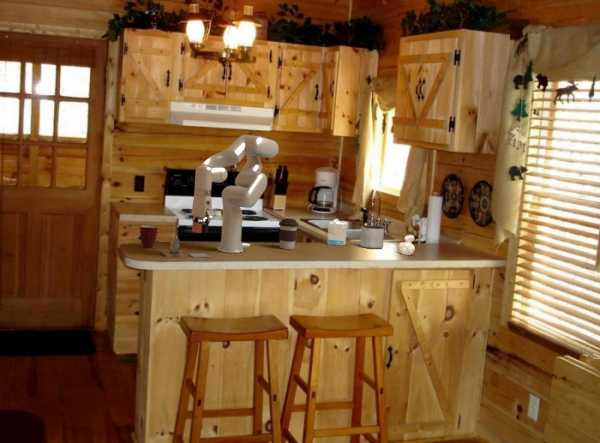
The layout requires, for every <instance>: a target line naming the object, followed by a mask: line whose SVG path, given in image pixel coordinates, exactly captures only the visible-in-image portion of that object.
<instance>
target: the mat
mask: <svg viewBox="0 0 600 443" xmlns="http://www.w3.org/2000/svg"><path fill="white" fill-rule="evenodd" d="M187 254H188V256H190V257H192V259H193V258H198V259H199V258H200V259H201V257H210V258H211V256H210V255H208V254H207V253H187Z"/></svg>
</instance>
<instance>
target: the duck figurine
mask: <svg viewBox="0 0 600 443" xmlns="http://www.w3.org/2000/svg"><path fill="white" fill-rule="evenodd" d="M404 240H405V241H403V242H400V243H399V244H398V246H397V252H398V253H399V254H400V253H401V254H400V255H404V254H406V255H405V256H411V255H413V254H414V251H415V250H416V248H415V245H414V244H412V242H414V241H415V236H414V235H413V234H408V235H405V237H404Z"/></svg>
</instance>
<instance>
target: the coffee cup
mask: <svg viewBox="0 0 600 443" xmlns="http://www.w3.org/2000/svg"><path fill="white" fill-rule="evenodd" d="M278 225H279V248H280V249H283V250H294V249H295V244H296V240H297V233H298V230H297V229H298V227H299V222H297V220H296V219H294V218H282V219H281V220H280V221H279V222H278Z"/></svg>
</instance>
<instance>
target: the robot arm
mask: <svg viewBox="0 0 600 443" xmlns="http://www.w3.org/2000/svg"><path fill="white" fill-rule="evenodd" d="M279 151H280V150H279V145H278V143H277V141H275V140H273V139H270V138H266V137H263V136H260V135H253V134H252V135H250V134H242V135H240V136H239V137H237V138H236V140H234V141H233V142H232V143H231V144H230V145H229V146H228V147H227V148H226V149H224V150H222V151H220V152H217V153H216V154H213V155H211V156H209V157H208V158H206V159H205V160H204V161H203V162H202V163H201V164H200V165H198V166H197V167H196V169H195V178H194V179H195V180H194V193H193V194H194V195H193V201H192V207H191V208H192V209H191V211H190V215H191V219H192V220H191V221H192V223H193V222H199V220H200V219H201V220H202V222H203V224H202V233H201V234H208V233H209V225H210V223H211V221H212V219H213V216H212V215H213V202H212V200H213V199H212V196H211V195H212V185H213V183H223V182H224V181H226V179H227V178H228V171H227V169H226V168H225V167H230V166H231V167H232V166H235V165H238V164H239V163H240V162H241V161H242V160H243V159H244V158H245V157H246V159H247V160H246V163H245V164H244V165H243V167H242V168H241V170H240V171H239V173H238V174H237V176H236V177H235V180H234V184H235V185H227V186H226V187H224V188H223V190H222V192H221V201H222V202H221V203H222V225H221V237H220V238H221V240H220V242H221V243H220V246H218V247H217V251H218V252H221V253H231V254H238V253H239V254H240V252H241V253H243V252H244V248H251V243H246V242H243V241H242V230H243V218H244V216H243V210H242V208H245V209H250V208H252V207H254V206H255V205H256V204H257V203H258V201H259V200H260V198H261V196H262V195H263V194H264V192H265V191H266V189H267V186H268V178H267V176H266V174H265V173H264V172H263V171H262V170H263V164H262V162H261V157H262V158H270V159H271V158H272V159H273V158H275V157H276V156H277V155H278V153H279Z"/></svg>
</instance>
